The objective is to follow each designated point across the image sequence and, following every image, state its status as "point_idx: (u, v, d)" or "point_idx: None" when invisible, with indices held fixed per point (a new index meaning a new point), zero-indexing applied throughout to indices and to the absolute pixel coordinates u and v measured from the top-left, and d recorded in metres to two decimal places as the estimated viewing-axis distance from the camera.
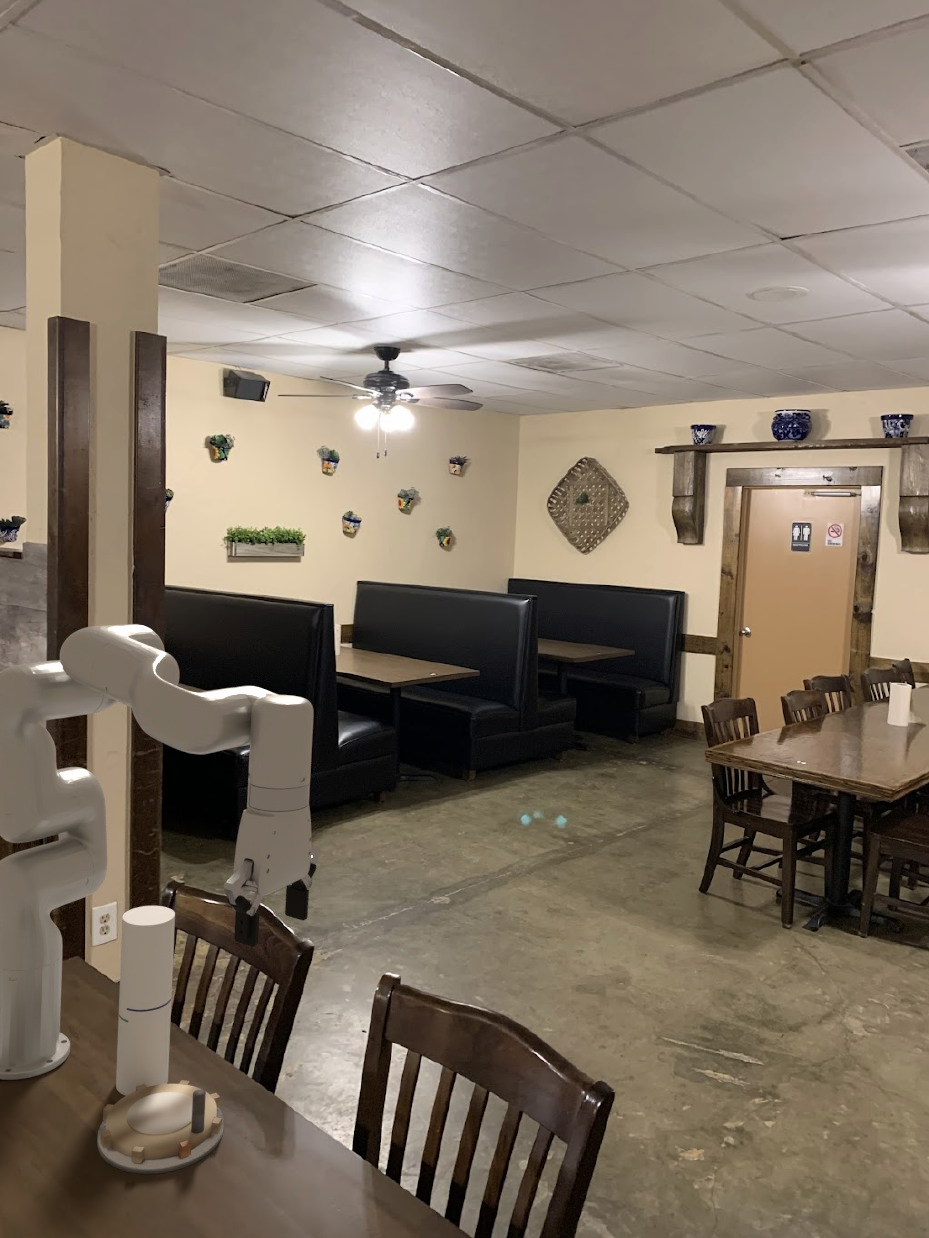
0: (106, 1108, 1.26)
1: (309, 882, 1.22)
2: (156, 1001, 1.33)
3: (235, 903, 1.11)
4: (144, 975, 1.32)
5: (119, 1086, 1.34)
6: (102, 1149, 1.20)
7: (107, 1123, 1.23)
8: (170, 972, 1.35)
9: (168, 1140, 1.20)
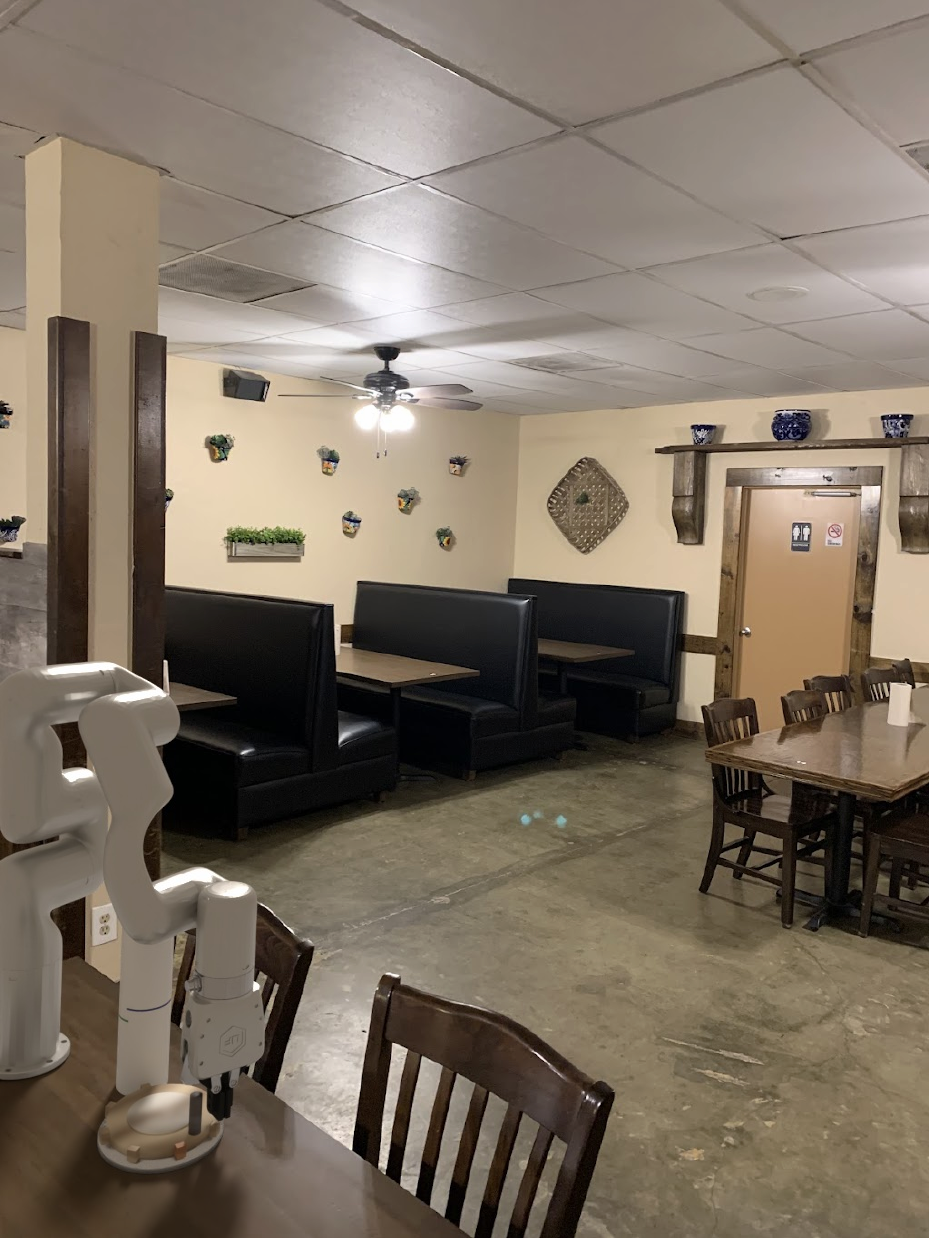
0: (108, 1105, 1.26)
1: None
2: (156, 1001, 1.33)
3: None
4: (144, 975, 1.32)
5: (119, 1086, 1.34)
6: (102, 1149, 1.20)
7: (107, 1120, 1.23)
8: (170, 972, 1.35)
9: (164, 1141, 1.20)
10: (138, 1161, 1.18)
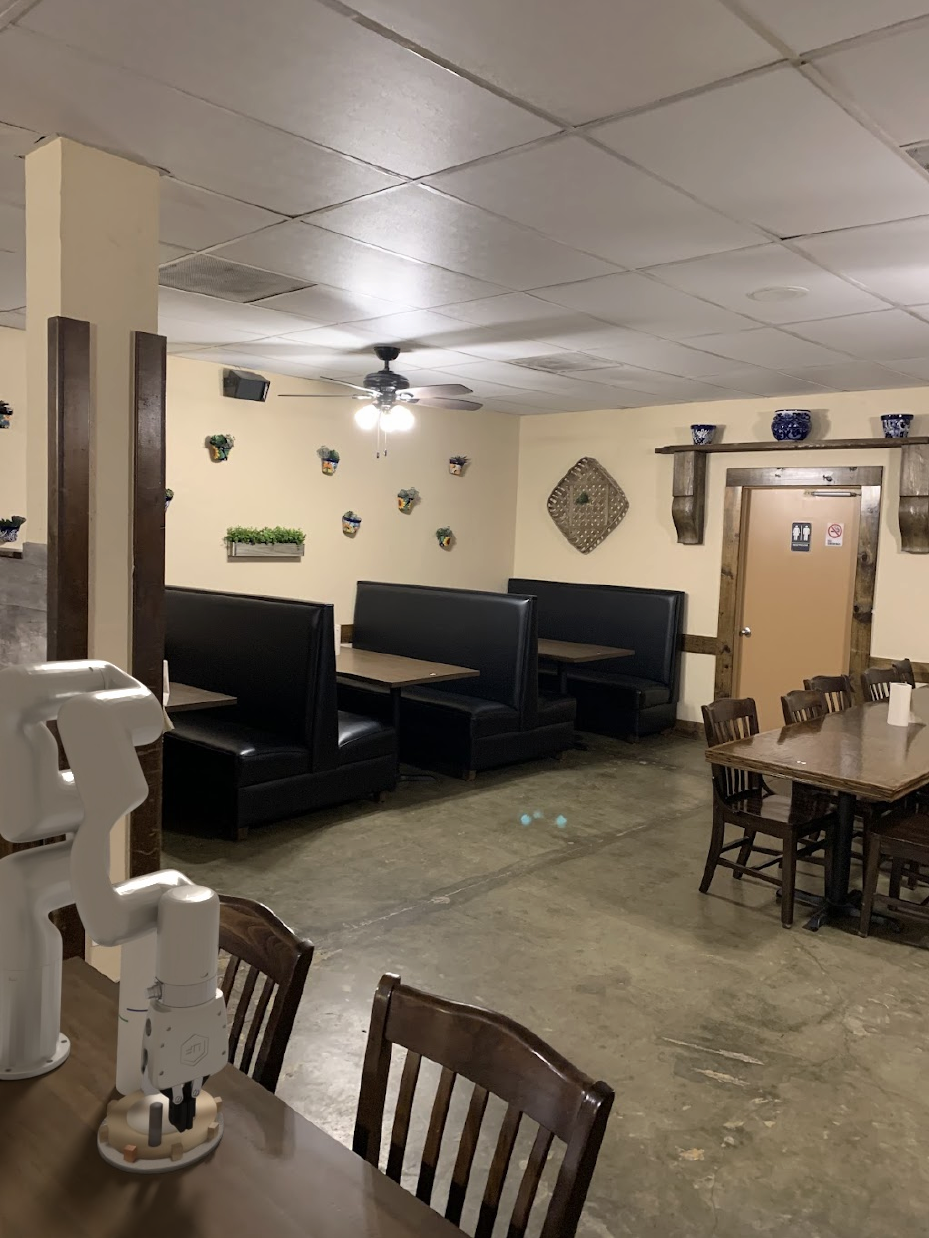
0: None
1: None
2: None
3: None
4: (144, 975, 1.32)
5: (119, 1086, 1.34)
6: (102, 1149, 1.20)
7: (126, 1096, 1.29)
8: None
9: (126, 1136, 1.20)
10: (138, 1161, 1.18)
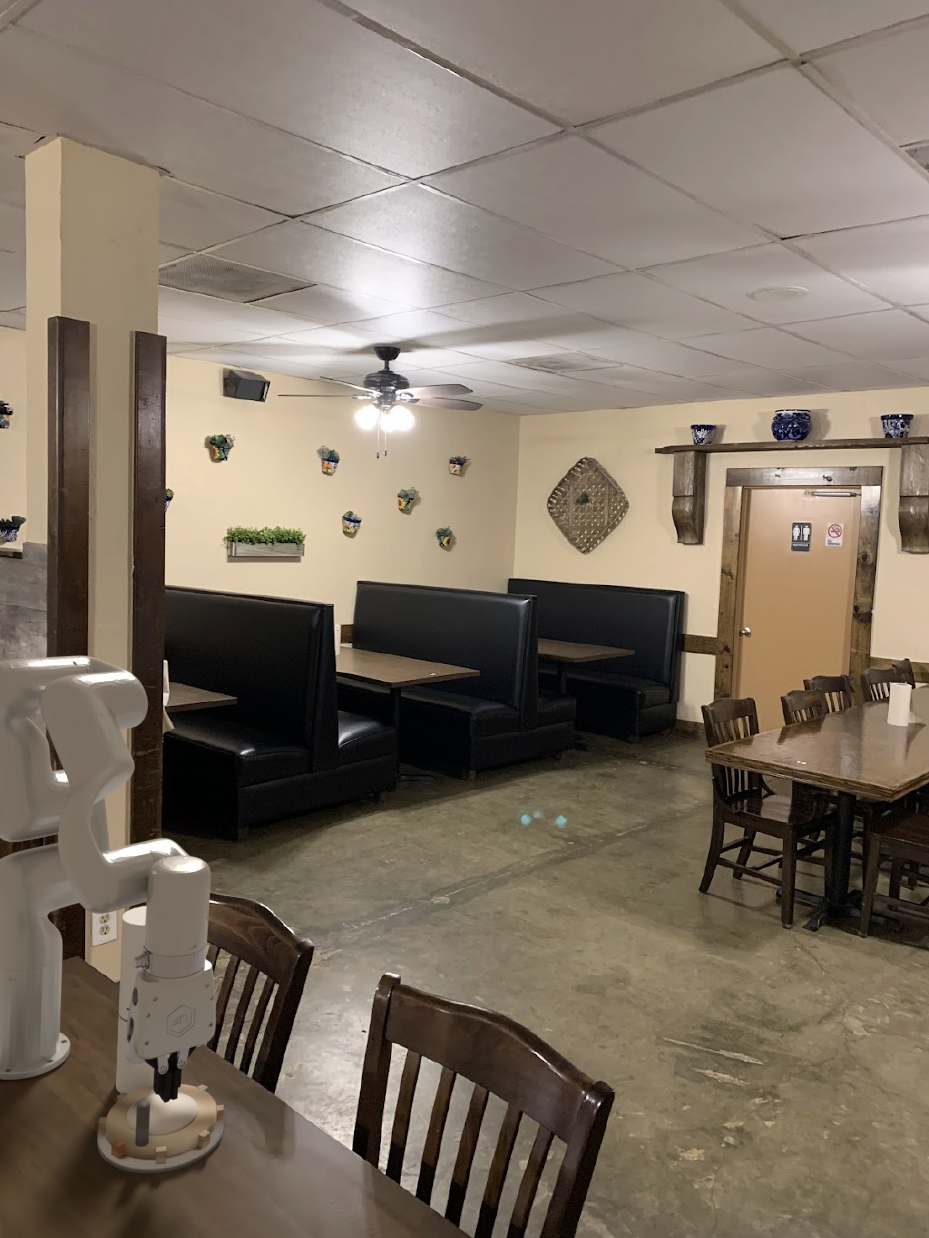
0: None
1: None
2: None
3: None
4: None
5: (119, 1086, 1.34)
6: (102, 1149, 1.20)
7: (137, 1090, 1.30)
8: None
9: (119, 1131, 1.21)
10: (138, 1161, 1.18)
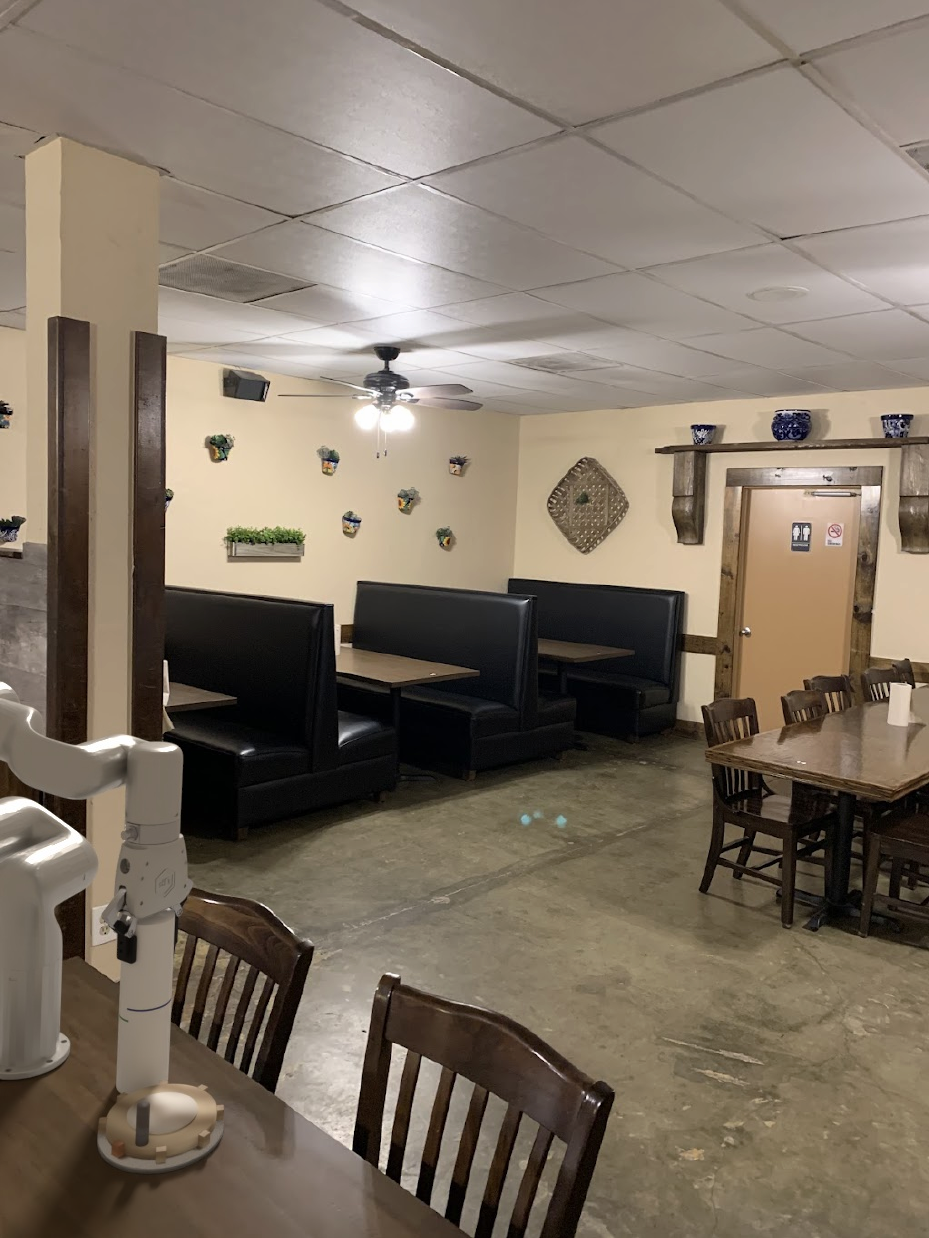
0: (161, 1081, 1.33)
1: None
2: (156, 1001, 1.33)
3: None
4: (144, 975, 1.32)
5: (119, 1086, 1.34)
6: (102, 1149, 1.20)
7: (137, 1090, 1.30)
8: (170, 972, 1.35)
9: (119, 1131, 1.21)
10: (138, 1161, 1.18)
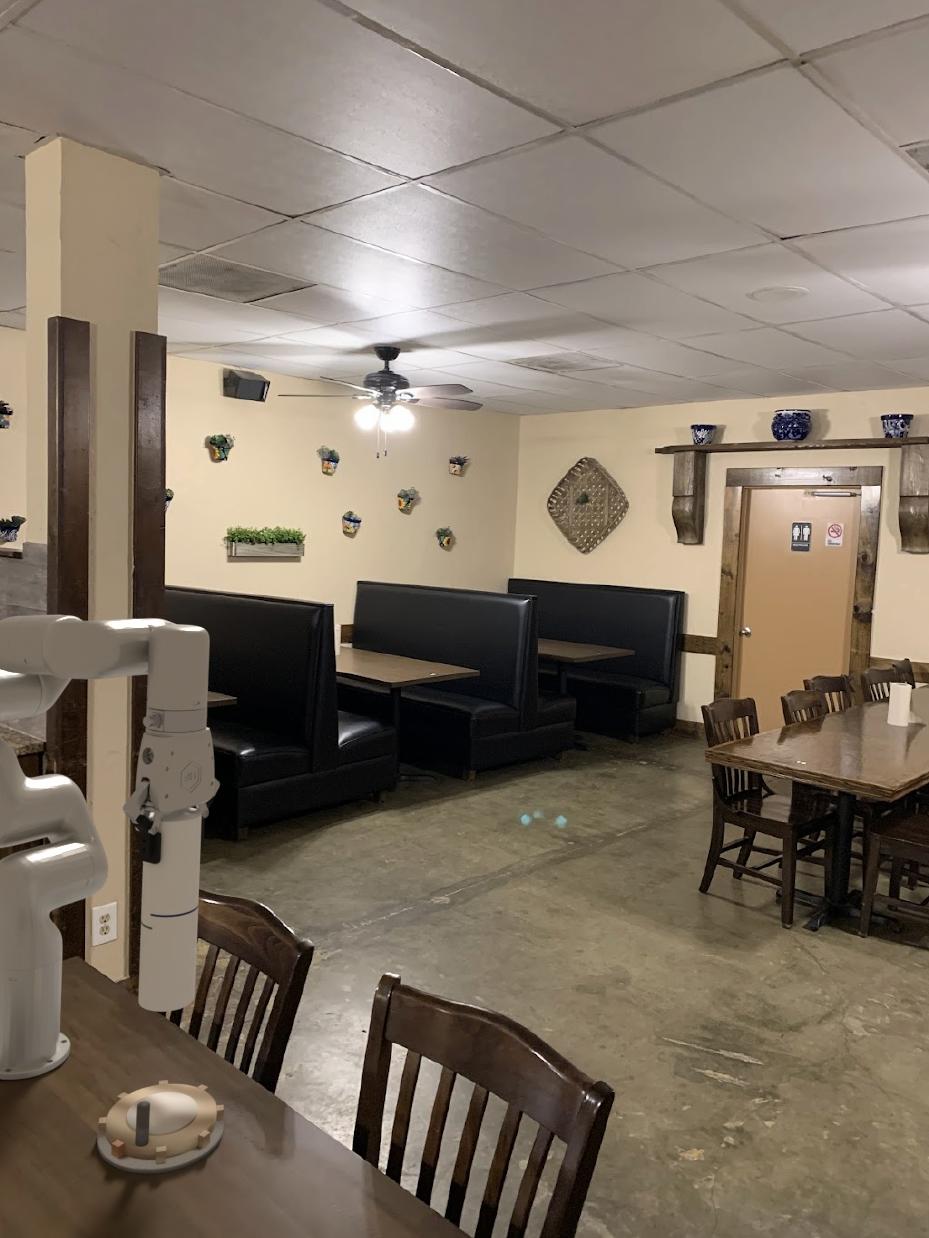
0: (161, 1081, 1.33)
1: None
2: (182, 906, 1.22)
3: None
4: (169, 877, 1.21)
5: (142, 1001, 1.23)
6: (102, 1149, 1.20)
7: (137, 1090, 1.30)
8: (197, 876, 1.24)
9: (119, 1131, 1.21)
10: (138, 1161, 1.18)
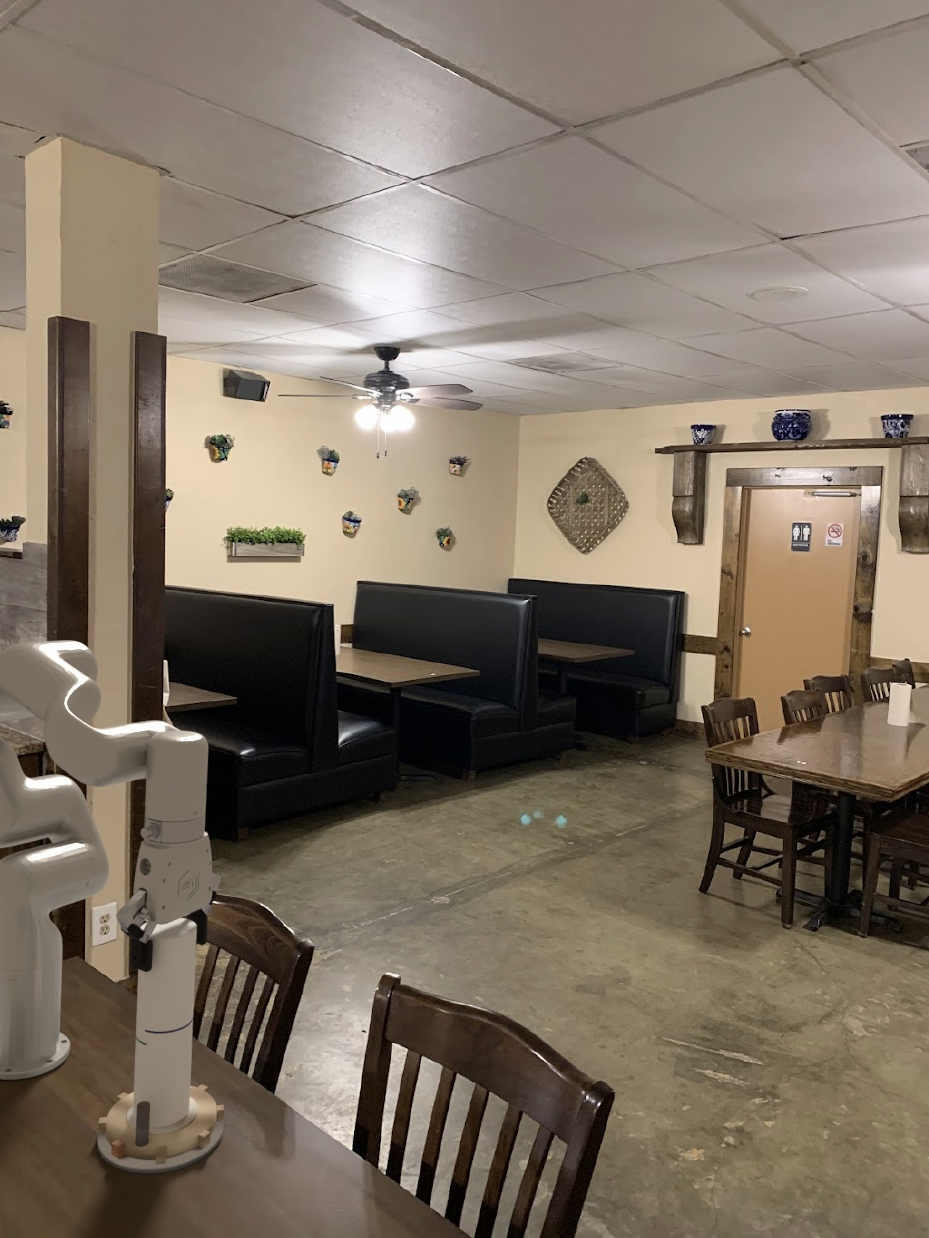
0: None
1: None
2: (177, 1022, 1.22)
3: None
4: (164, 993, 1.21)
5: None
6: (102, 1149, 1.20)
7: None
8: (192, 990, 1.24)
9: (119, 1131, 1.21)
10: (138, 1161, 1.18)
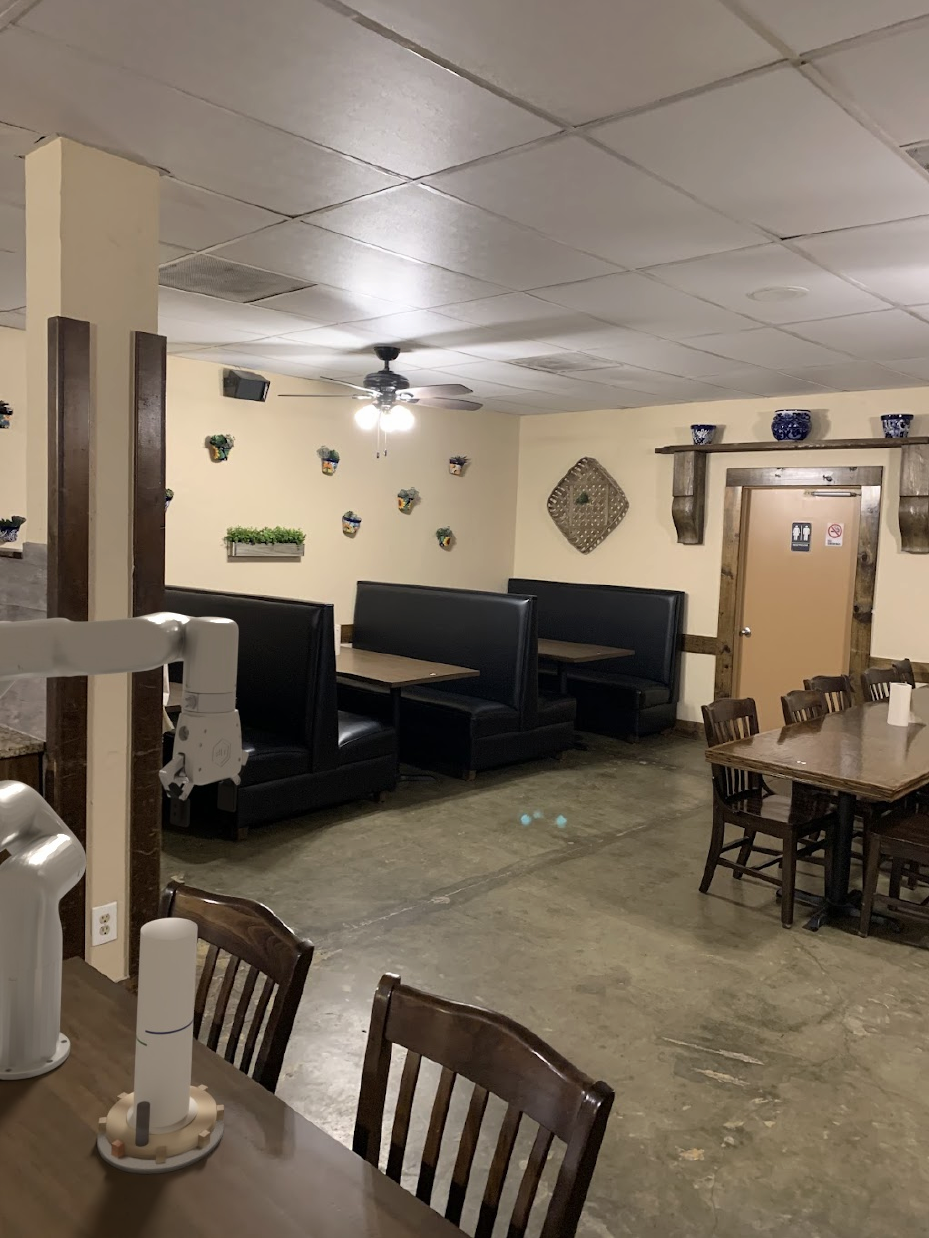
0: None
1: None
2: (177, 1023, 1.22)
3: None
4: (164, 994, 1.21)
5: None
6: (102, 1149, 1.20)
7: None
8: (192, 991, 1.24)
9: (119, 1131, 1.21)
10: (138, 1161, 1.18)
